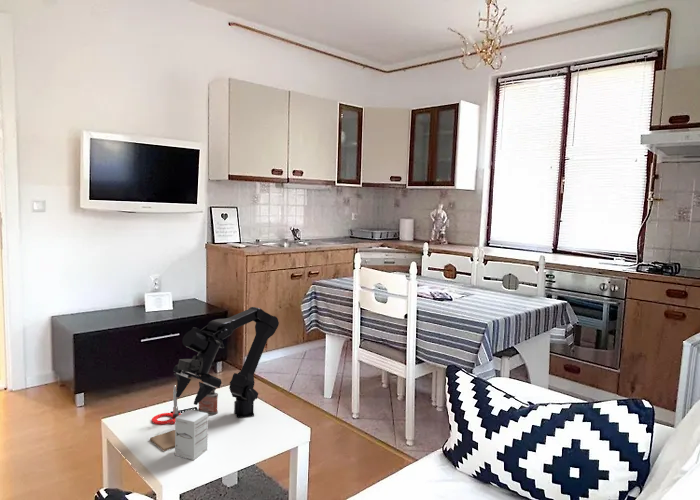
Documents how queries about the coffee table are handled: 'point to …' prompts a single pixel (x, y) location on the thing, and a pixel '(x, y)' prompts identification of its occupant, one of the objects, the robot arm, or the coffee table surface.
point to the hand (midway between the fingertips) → (185, 400)
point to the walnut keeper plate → (164, 440)
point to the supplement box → (191, 434)
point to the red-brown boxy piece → (209, 404)
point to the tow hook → (173, 415)
